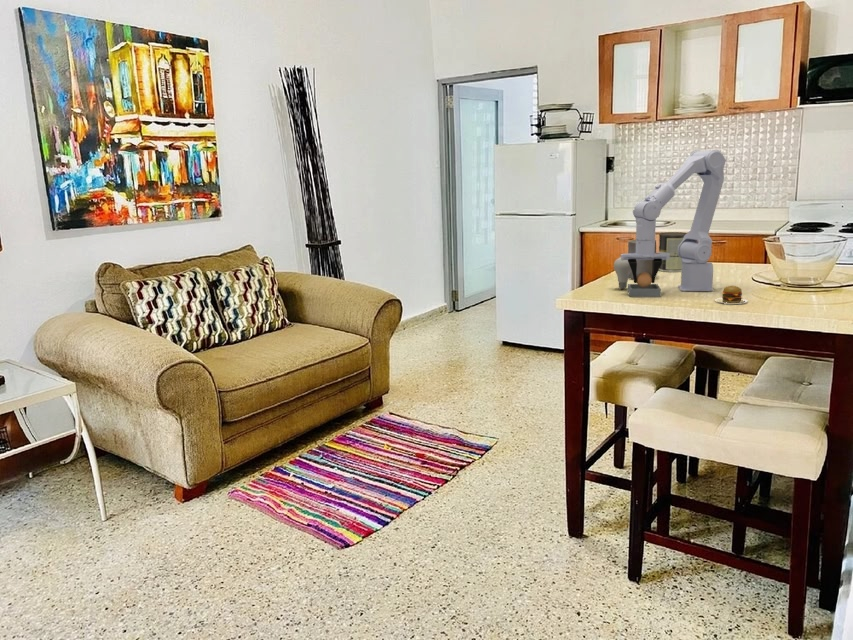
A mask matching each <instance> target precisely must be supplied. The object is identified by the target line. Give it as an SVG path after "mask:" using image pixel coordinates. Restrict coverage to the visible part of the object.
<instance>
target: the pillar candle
mask: <svg viewBox="0 0 853 640" xmlns="http://www.w3.org/2000/svg"><path fill="white" fill-rule="evenodd" d="M627 242H628V250H627V254H628V253H636V239H630V240H627ZM655 253H657V240H656V239H655ZM639 258H641V257H639ZM649 258H651V257H649ZM636 261H637V271H636V275H637V276H638V275H639V274H640V273H642V272H646V273H649V274H650V275H651V277H652V261H653V260H636ZM629 278H631V279H630V280H634V278H633V274H632V270H631V272H630V274H629V276H628V279H629Z"/></svg>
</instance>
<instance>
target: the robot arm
mask: <svg viewBox="0 0 853 640" xmlns="http://www.w3.org/2000/svg"><path fill="white" fill-rule="evenodd" d="M726 161H727V160H726V157H725V156H724V154H723V152H721V151H720V150H719V149H712V150H711V149H710V150H694V151H693V152H691V154H690V155H689V156H687V157H686V158H685V160H684V163H683V164H682V165H680V167H679V168H678V169H677V170H676V172H675V173H674V174H673V175H672V176H671V177H670V179H668V181H666V182H661V183H659V184H655V186H654V189H653V190H652V191H651V192H650V193H649V194H648V195H646V196H645V197H644V200H641V201H639V202H637V203H636V205H635V207H634V209H632V215H633V217H634V218H635V224H636V227H635V228H636V229H635V230H636V231H635V240H636V253H628V252H627V253H621V254H620V257H621V260H628V262H629V265H630V267H631V270H632V274H633V278H634V279H633V284H637V275H636V271H637V261H636V260H653V261H652V283H651V284H656V283H655V282H656V276H657V274H658V272H659V268H660V266H661V264H662V260H669V258H670V254H669V253H659V252H656V253H655V240H656V223H657V218H659V217H660V215H661V211H662V209H663V208H664V207H665V206H666V205H667V204H668V203H669V202H670V201H671V200H672V199H673V198H674V196H675V195H676V194H675V191H676V190H677V189H679V187H680V186H681V185H682V184H684V183H685V182H686V181H687V180H688V179H689V178H690V177H692V176H693V175H694V174H696V175H697V176H698V177H700V179H701V180H702V181H703V185H702V189H701V192H700V196H699V199H698V203H697V207H696V209H695V213H694V217H693V220H692V223H691V226H690V227H691V228H690V230H689V231H688V232H686V233H687V234H686V235H685V236H684V238H683V240H682V242H681V243H680V245H679V246H678V255H679V257H680V258H681V261H682V272H680V273H681V275H680V285H677V288H678V289H679V290H680V291H681V292H713V290H714V289H713V286H714V285H713V283H714V281H713V280H714V264H713V262H710V261H709V260H710V258H711V256H712V252H713V251H712V249H713V248H712V244H713V239H712V238H711V236H710V235H709V232H710V229H711V226H712V222H713V219H714V215H715V212H716V208H717V205H718V201H719V198H720V195H721V191H722V188H723V184H724V182H725V181H724V180H725V175H724V174H725V173H724V169H725V165H726ZM639 257H641V258H639ZM649 257H651V258H649ZM708 261H709V262H708Z"/></svg>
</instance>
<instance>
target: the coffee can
mask: <svg viewBox="0 0 853 640" xmlns="http://www.w3.org/2000/svg"><path fill="white" fill-rule="evenodd" d="M687 233H688V232H673V231H672V232H671V231H670V232H669V231H668V232H661V233H658V234H659V235H658V236H659V237H658V238H659V240H658V241H659V242H658V253H669V254H670V258H669V260H662V264H661V266H660V268H659V270H658V272H663V273H681V272H682V261H681V258H680V257H679V255H678V246H679V245H680V243H681V242H682V240H683V238H684V236H685V235H686V234H687Z"/></svg>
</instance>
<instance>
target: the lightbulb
mask: <svg viewBox="0 0 853 640" xmlns="http://www.w3.org/2000/svg"><path fill="white" fill-rule="evenodd" d="M613 270H614V272H615V274H616V276H617V281H618V288H619V289H621V290H622V289H623V290H625V289H627V288H628V281H629V278H628V276H629V274H630V272H631V267H630V265H629V262H628V260H621V256H619V257H618V258H617V259H615V261H613Z"/></svg>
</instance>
